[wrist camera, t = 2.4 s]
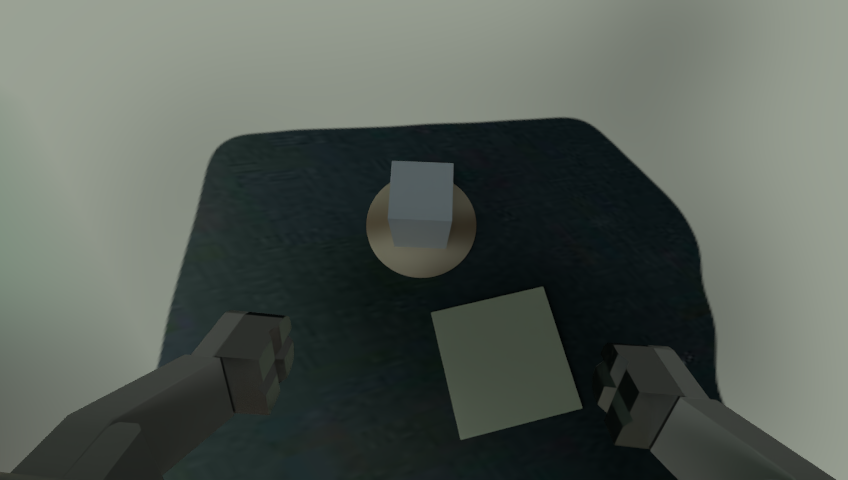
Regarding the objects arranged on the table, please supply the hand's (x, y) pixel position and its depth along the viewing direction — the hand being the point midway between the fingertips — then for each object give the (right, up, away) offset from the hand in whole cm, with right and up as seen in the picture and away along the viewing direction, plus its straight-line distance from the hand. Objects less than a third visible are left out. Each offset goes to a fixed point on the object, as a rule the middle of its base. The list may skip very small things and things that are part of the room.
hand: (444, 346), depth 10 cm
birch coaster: (-1, +4, +25) cm, 25 cm away
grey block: (-1, +4, +25) cm, 25 cm away
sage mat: (+6, -7, +22) cm, 23 cm away
